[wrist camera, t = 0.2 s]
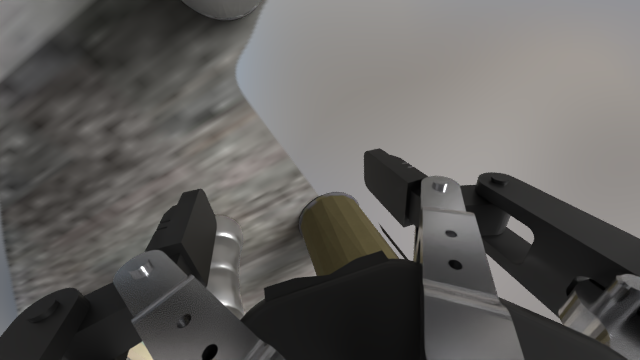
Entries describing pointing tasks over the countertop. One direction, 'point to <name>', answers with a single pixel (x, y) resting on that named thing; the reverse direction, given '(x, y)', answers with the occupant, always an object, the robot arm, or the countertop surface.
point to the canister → (340, 233)
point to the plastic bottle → (227, 265)
